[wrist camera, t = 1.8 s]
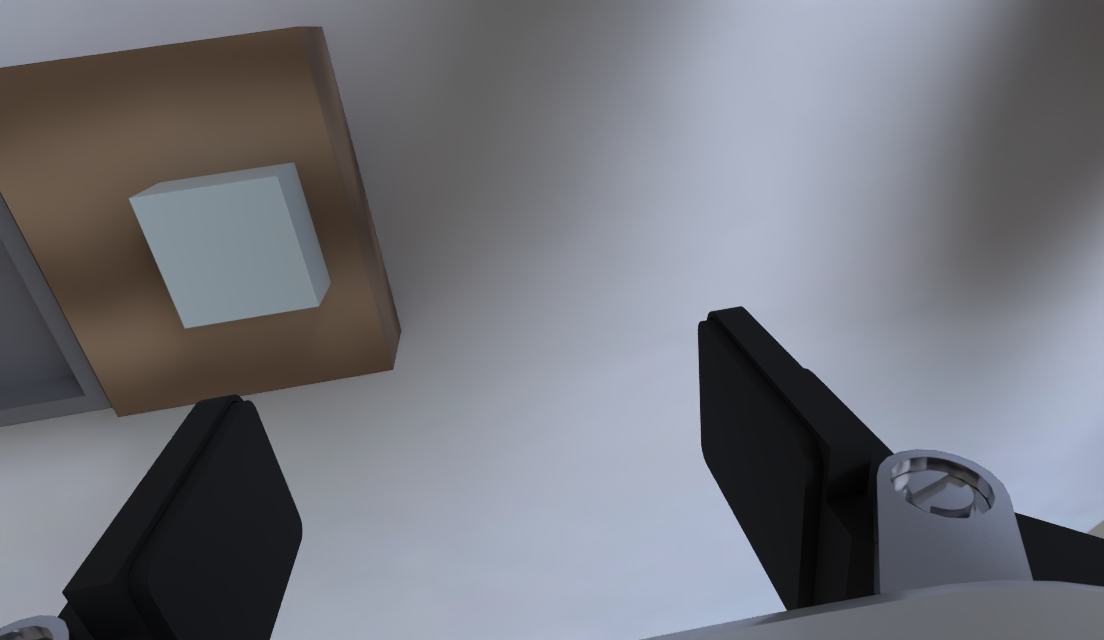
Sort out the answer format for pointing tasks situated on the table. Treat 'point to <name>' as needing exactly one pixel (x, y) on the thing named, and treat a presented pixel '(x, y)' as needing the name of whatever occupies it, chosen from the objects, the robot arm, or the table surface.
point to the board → (179, 153)
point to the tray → (37, 341)
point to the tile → (234, 244)
